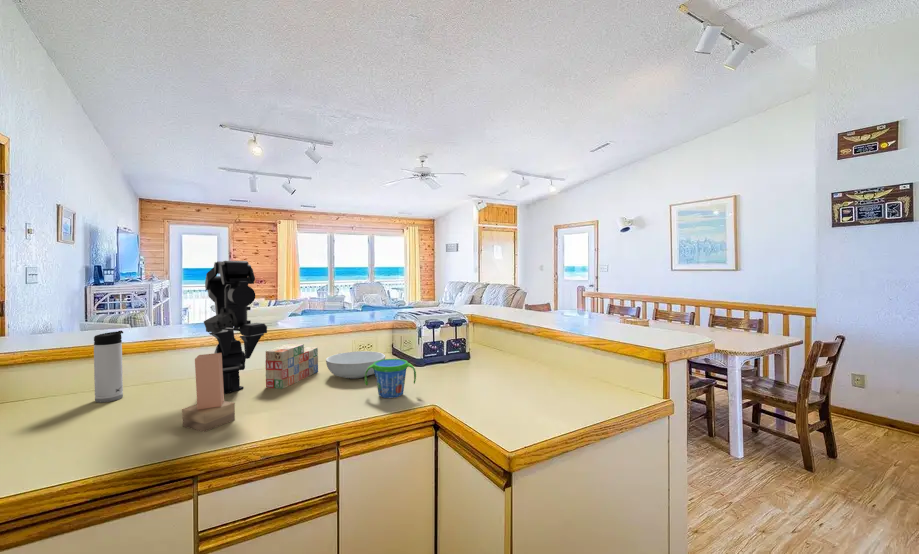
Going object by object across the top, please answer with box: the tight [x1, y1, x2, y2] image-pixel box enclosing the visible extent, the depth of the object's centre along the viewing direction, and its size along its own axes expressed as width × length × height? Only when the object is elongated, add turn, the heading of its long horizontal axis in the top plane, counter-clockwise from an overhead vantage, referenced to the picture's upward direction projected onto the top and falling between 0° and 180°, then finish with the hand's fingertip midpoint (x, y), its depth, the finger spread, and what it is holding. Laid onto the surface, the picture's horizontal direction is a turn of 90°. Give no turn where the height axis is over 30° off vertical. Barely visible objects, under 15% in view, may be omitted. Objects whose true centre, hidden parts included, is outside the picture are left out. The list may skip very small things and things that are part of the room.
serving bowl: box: [325, 350, 386, 380], centre depth 145 cm, size 21×21×7 cm
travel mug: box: [93, 330, 124, 403], centre depth 118 cm, size 6×7×20 cm
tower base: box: [182, 412, 236, 433], centre depth 101 cm, size 8×8×2 cm
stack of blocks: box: [265, 343, 319, 389], centre depth 140 cm, size 21×6×12 cm, turn 169°
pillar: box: [194, 353, 225, 410], centre depth 100 cm, size 5×5×12 cm
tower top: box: [181, 400, 236, 424], centre depth 100 cm, size 8×8×2 cm
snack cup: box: [364, 358, 417, 399], centre depth 123 cm, size 16×10×10 cm
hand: (236, 357), depth 117 cm, fingers open, 9 cm apart
